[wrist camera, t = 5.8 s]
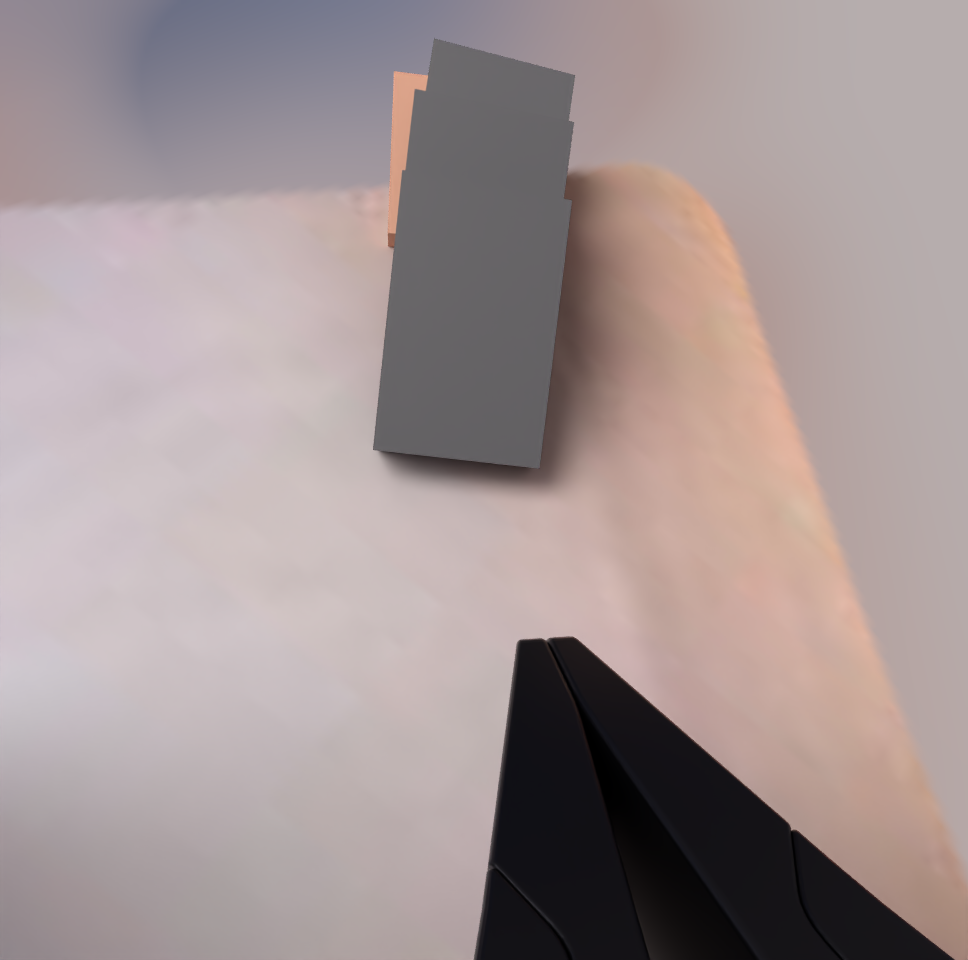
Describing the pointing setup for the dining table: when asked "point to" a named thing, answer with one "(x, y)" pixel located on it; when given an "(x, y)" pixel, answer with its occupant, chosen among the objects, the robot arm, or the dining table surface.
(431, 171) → the tile
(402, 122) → the end tile
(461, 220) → the tile
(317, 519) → the dining table surface
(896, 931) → the robot arm
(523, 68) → the tile
